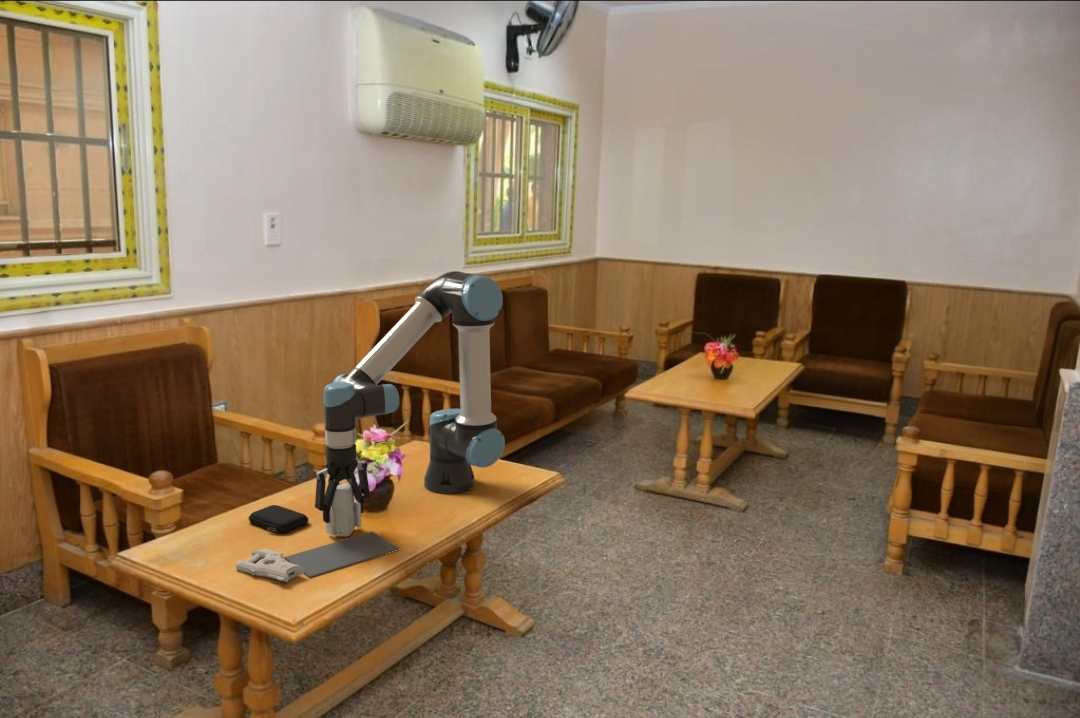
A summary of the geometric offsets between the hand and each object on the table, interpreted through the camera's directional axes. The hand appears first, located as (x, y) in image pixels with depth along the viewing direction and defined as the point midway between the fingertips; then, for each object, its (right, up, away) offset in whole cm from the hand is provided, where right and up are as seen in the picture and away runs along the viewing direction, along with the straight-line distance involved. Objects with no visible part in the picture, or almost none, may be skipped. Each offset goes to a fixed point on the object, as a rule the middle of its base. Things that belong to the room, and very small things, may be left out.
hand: (344, 529), depth 216 cm
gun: (-12, -6, -21) cm, 25 cm away
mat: (+2, -4, -12) cm, 13 cm away
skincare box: (0, -1, 0) cm, 1 cm away
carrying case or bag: (-19, 0, +5) cm, 20 cm away
